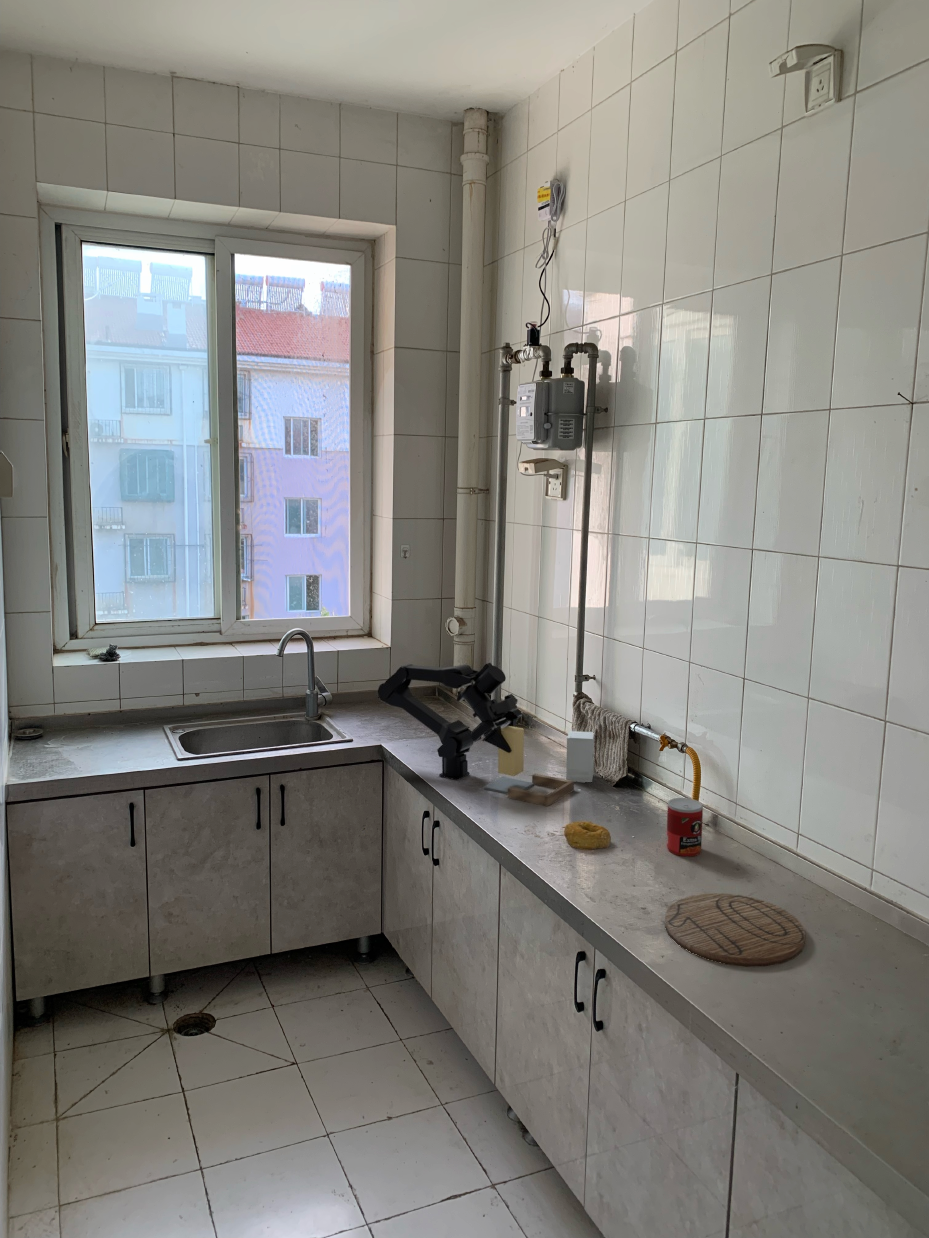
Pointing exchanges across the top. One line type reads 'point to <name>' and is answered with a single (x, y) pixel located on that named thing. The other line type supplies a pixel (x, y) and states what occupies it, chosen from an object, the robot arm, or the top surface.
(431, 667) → the robot arm
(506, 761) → the ochre block
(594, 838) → the bagel
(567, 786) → the frame
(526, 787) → the slate mat
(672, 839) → the canned food
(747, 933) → the trivet
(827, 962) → the top surface
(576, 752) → the supplement box
